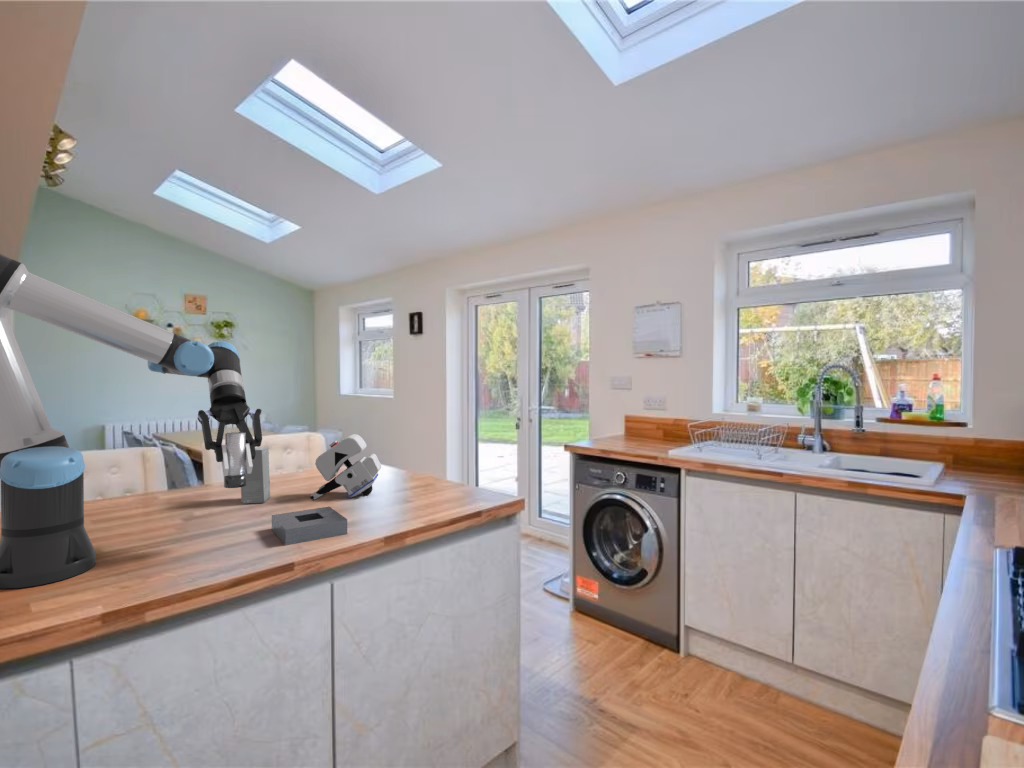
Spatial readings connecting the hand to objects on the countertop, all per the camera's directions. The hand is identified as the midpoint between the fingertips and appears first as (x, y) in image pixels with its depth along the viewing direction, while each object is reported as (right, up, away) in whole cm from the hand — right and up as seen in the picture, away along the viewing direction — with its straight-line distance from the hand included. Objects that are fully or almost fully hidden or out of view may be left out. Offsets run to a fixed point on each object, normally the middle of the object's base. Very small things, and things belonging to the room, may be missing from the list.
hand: (238, 471), depth 111 cm
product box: (-17, -16, +40) cm, 46 cm away
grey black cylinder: (-2, -4, +3) cm, 6 cm away
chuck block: (+11, -17, +12) cm, 23 cm away
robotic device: (+8, -16, +48) cm, 52 cm away
